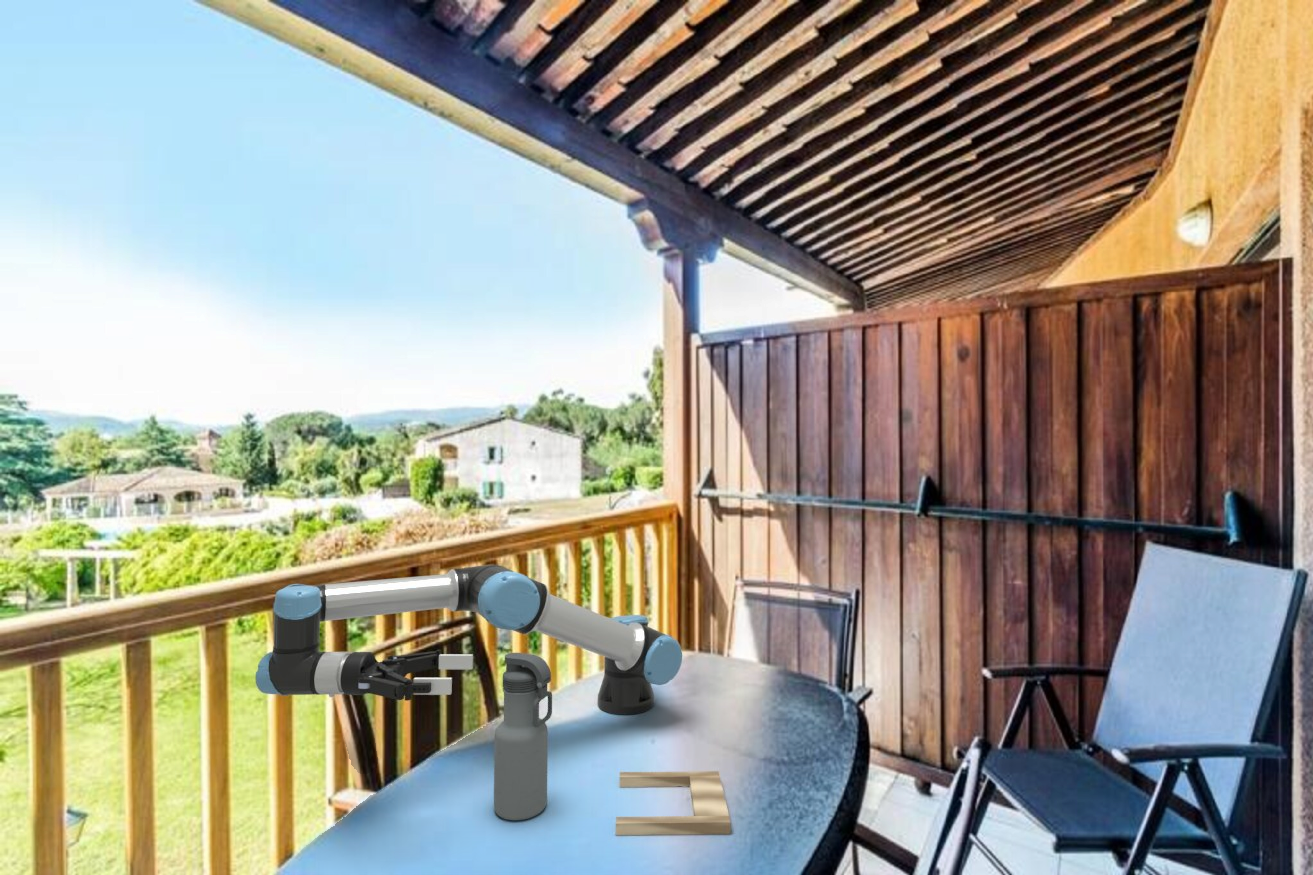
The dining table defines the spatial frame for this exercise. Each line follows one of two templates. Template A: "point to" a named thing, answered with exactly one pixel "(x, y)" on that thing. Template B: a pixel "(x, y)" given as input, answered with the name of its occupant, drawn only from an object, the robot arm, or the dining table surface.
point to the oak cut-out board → (706, 817)
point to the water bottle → (522, 739)
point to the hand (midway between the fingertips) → (462, 673)
